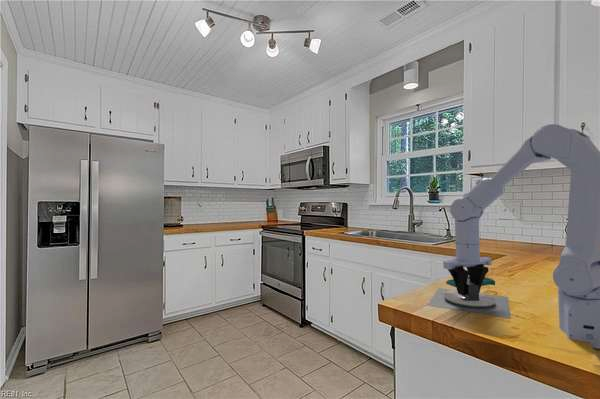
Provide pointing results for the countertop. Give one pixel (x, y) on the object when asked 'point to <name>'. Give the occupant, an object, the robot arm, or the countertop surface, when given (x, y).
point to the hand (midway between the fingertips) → (468, 293)
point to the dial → (470, 297)
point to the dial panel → (497, 310)
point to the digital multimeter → (485, 280)
